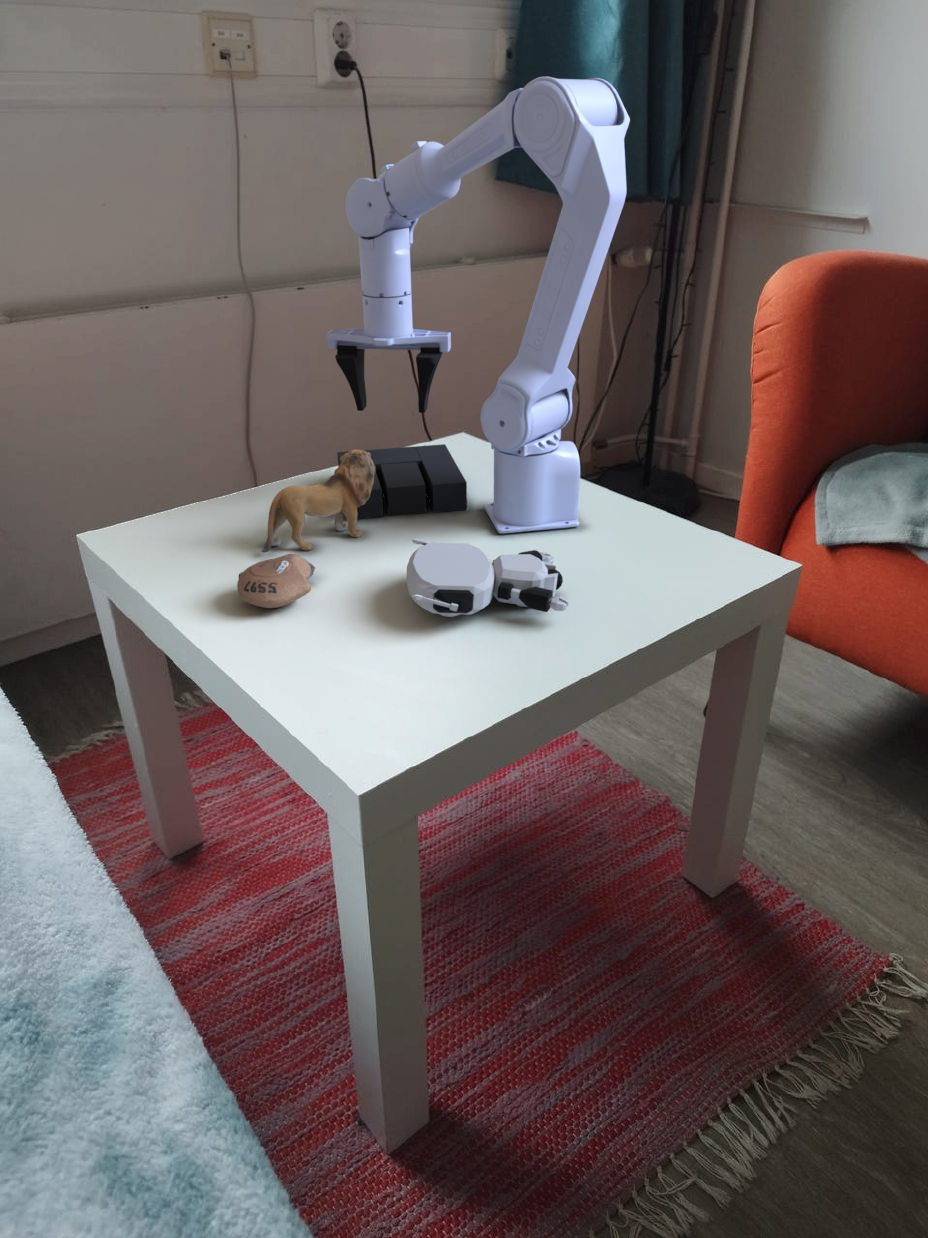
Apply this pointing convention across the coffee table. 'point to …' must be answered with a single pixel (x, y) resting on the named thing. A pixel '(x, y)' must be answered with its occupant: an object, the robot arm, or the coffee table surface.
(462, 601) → the robot toy
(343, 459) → the lion figurine
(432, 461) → the notched pad
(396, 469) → the black block
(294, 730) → the coffee table surface
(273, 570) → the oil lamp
